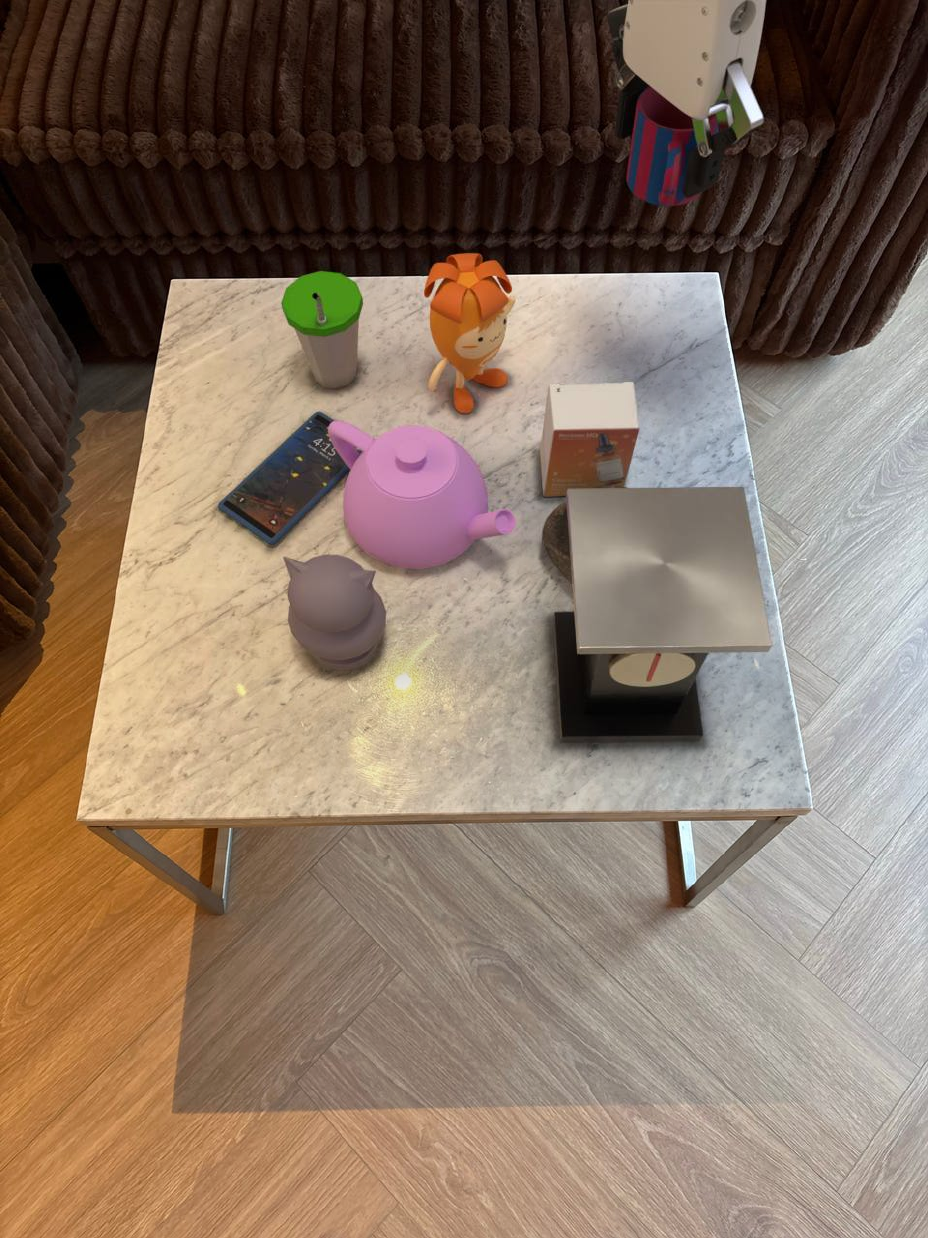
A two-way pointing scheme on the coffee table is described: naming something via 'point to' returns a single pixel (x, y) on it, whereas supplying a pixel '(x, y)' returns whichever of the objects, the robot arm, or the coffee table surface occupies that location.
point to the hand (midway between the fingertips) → (664, 159)
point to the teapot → (414, 495)
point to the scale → (652, 608)
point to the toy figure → (468, 321)
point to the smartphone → (287, 482)
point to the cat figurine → (335, 610)
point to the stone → (560, 538)
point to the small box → (588, 436)
